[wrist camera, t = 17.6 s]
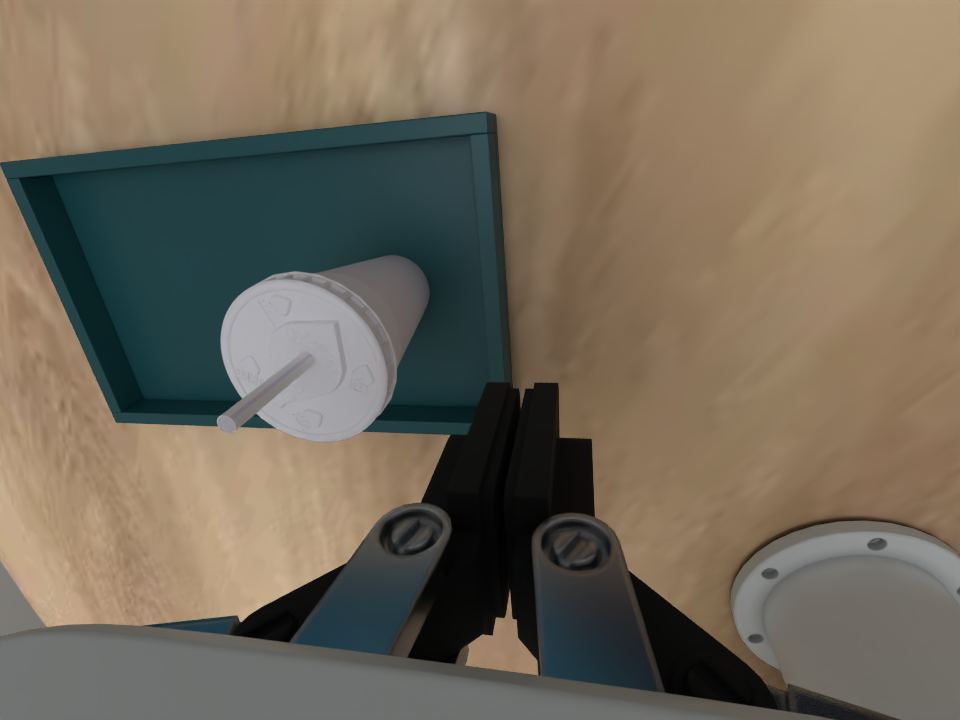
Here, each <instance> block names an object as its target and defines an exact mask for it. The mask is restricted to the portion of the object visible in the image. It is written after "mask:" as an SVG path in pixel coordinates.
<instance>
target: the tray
mask: <svg viewBox="0 0 960 720" xmlns="http://www.w3.org/2000/svg"><path fill="white" fill-rule="evenodd" d="M0 166H1V168H2V170H3V173H4V175H5V177H6V179H7V182H8V184H9V186H10V188H11V191H12V193H13V195H14V197H15V200H16V202H17V204H18V206H19V208H20V211H21V213H22V215H23V217H24V220H25V222H26V224H27V226H28V228H29V231H30V233H31V235H32V237H33V240H34V242H35V244H36V246H37V248H38V251H39V253H40V255H41V257H42V260H43V262H44V264H45V266H46V268H47V271H48V273H49V275H50V277H51V280H52V282H53V284H54V286H55V288H56V291H57V293H58V295H59V297H60V300H61V302H62V304H63V306H64V308H65V311H66V313H67V315H68V317H69V319H70V322H71V324H72V326H73V328H74V331H75V333H76V335H77V337H78V339H79V342H80V344H81V346H82V348H83V351H84V353H85V355H86V357H87V359H88V362H89V364H90V366H91V368H92V371H93V373H94V375H95V377H96V379H97V382H98V384H99V386H100V388H101V391H102V393H103V395H104V397H105V399H106V402H107V404H108V406H109V408H110V411H111V412H112V415H113V417H114V419H115V421H116V423H141V424H168V425H196V426H218V424H217V419H218V417H219V416H221V415H222V414H223V413H225V412H226V411H227V410H228V409H230V408H231V407H232V406H234V405H235V404H236V403H238V402H239V401H240V400H241V399H242V398H241V396H240V395H239V394H238V392H237V390H236V389H235V387H234V385H233V384H232V382H231V380H230V378H229V376H228V373H227V371H226V368H225V365H224V361H223V357H222V352H221V329H222V324H223V321H224V318H225V315H226V313H227V311H228V309H229V307H230V306H231V304H232V303H233V301H234V300H235V299H236V298H237V297H238V296H239V295H240V294H241V293H243V292H244V291H245V290H247V289H249V288H250V287H252V286H254V285H255V284H257V283H259V282H261V281H262V280H264V279H266V278H268V277H270V276H272V275H274V274H281V273H287V272H293V271H298V272H306V273H319V272H323V271H327V270H331V269H335V268H339V267H343V266H347V265H351V264H355V263H359V262H363V261H367V260H371V259H375V258H379V257H383V256H387V255H397V256H402V257H405V258H407V259H409V260H411V261H412V262H414V263H415V264H416V265H417V266H418V267H419V268H420V269H421V270H422V272H423V273H424V275H425V276H426V279H427V281H428V284H429V289H430V297H429V302H428V305H427V307H426V309H425V311H424V314H423V316H422V318H421V320H420V322H419V324H418V326H417V328H416V330H415V332H414V334H413V336H412V338H411V340H410V342H409V344H408V346H407V348H406V350H405V352H404V354H403V357H402V359H401V361H400V363H399V365H398V368H397V381H396V385H395V388H394V391H393V395H392V398H391V400H390V401H389V403H388V404H387V406H386V407H385V409H384V410H383V411H382V413H381V414H380V415H379V416H377V417H376V419H375V420H374V421H373V422H372V423H371V424H370V425H369V426H368V427H367V428H366V429H365V430H363V431H362V432H389V433H416V434H444V435H452V434H461V435H467V433H468V431H469V428H470V425H471V423H472V420H473V417H474V415H475V412H476V409H477V407H478V404H479V401H480V399H481V396H482V393H483V391H484V388H485V385H486V383H487V382H510V383H511V388H513V383H512V367H511V350H510V334H509V318H508V302H507V285H506V269H505V253H504V237H503V221H502V204H501V188H500V172H499V156H498V139H497V123H496V114H493V113H489V112H477V113H467V114H458V115H448V116H439V117H429V118H420V119H410V120H401V121H391V122H382V123H372V124H363V125H353V126H344V127H334V128H325V129H315V130H305V131H296V132H286V133H277V134H267V135H258V136H248V137H239V138H229V139H220V140H210V141H201V142H191V143H182V144H172V145H163V146H153V147H144V148H134V149H125V150H115V151H105V152H96V153H86V154H77V155H67V156H58V157H48V158H39V159H29V160H20V161H10V162H1V163H0ZM241 427H251V428H275V427H273V426H272V425H270V424H269V423H267V422H266V421H265V420H263V419H262V418H261V417H260V416H258V415H257V414H255V415H254V416H252V417H251V418H250V419H249V420H248V421H247V422H245V423H244V424H243V425H242V426H241Z"/></svg>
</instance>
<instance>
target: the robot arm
mask: <svg viewBox="0 0 960 720" xmlns="http://www.w3.org/2000/svg"><path fill="white" fill-rule="evenodd" d="M509 591H510V593H511V605H512V617H513V619H517V628H518V638H519V639H520V640H521V641H522V643H523V644H524V645H525V646H526V647H527V649H528V650H529V651H530V652H531V653H532V655H533V656H534V657H535V658H536V659H537V663H538V675H531V674H524V673H516V672H509V671H501V670H494V669H486V668H479V667H471V666H465V665H466V662H467V657H468V652H469V648H468V644H469V643H471V642H472V641H474V640H475V639H476V638H478V637H479V636H481V635H482V634H485V635H493V630H494V624H495V619H496V617H499V618H505V615H506V610H507V604H508V597H509ZM730 607H731V611H732V615H733V619H734V622H735V625H736V628H737V630H738V632H739V635H740V637H741V639H742V640H743V641H744V643H745V644H746V645H747V647H748V648H749V649H750V650H751V651H752V652H753V653H754V654H755V655H757V656H758V657H759V658H760V659H761V660H763V661H764V662H766V663H768V664H769V665H771V666H772V667H774V668H776V669H778V670H780V671H781V673H782V676H783V679H784V681H785V684H786V687H787V688H786V691H784V690H781V689H778V688H775V687H772V686H769V685H766V684H765V683H764V681H763V680H762V678H760V677H759V676H758V675H757V674H756V673H755V672H754V671H753V670H752V669H751V668H750V667H749V666H748V665H747V664H746V663H745V662H743V661H742V660H741V659H740V658H738V657H737V656H736V655H735V654H733V653H732V652H731V651H730V650H728V649H727V648H726V647H724V646H723V645H722V644H721V643H719V642H718V641H717V640H716V639H714V638H713V637H712V636H711V635H709V634H708V633H707V632H706V631H704V630H703V629H702V628H700V627H699V626H698V625H697V624H695V623H694V622H693V621H692V620H690V619H689V618H688V617H687V616H685V615H684V614H683V613H681V612H680V611H679V610H678V609H676V608H675V607H674V606H673V605H671V604H670V603H669V602H668V601H666V600H665V599H664V598H663V597H661V596H660V595H659V594H657V593H656V592H655V591H654V590H652V589H651V588H650V587H649V586H647V585H646V584H645V583H644V582H642V581H641V580H640V579H639V578H637V577H636V576H635V575H633V574H632V573H631V572H630V571H628V568H627V564H626V561H625V558H624V554H623V551H622V548H621V544H620V541H619V539H618V537H617V536H616V534H615V532H614V531H613V530H612V529H611V528H610V527H609V526H608V525H607V524H606V523H604V522H603V521H601V520H599V519H597V518H596V517H595V510H594V485H593V460H592V439H580V438H560V436H559V386H558V383H535V384H534V389H525V393H524V398H523V403H522V408H521V406H520V391H519V388H511V383H510V382H487V383H486V385H485V388H484V391H483V393H482V396H481V399H480V401H479V404H478V407H477V409H476V412H475V415H474V417H473V420H472V423H471V425H470V428H469V431H468V433H467V435H461V434H452V435H450V437H449V439H448V441H447V443H446V445H445V448H444V450H443V452H442V455H441V457H440V459H439V462H438V464H437V466H436V469H435V471H434V473H433V476H432V478H431V480H430V483H429V485H428V487H427V490H426V492H425V494H424V497H423V499H422V501H421V503H413V504H406V505H403V506H400V507H398V508H395V509H393V510H391V511H390V512H388V513H387V514H385V515H383V517H382V518H381V519H380V520H379V521H378V522H377V523H376V524H375V525H374V527H373V528H372V529H371V531H370V532H369V533H368V535H367V536H366V538H365V539H364V540H363V542H362V543H361V544H360V546H359V547H358V549H357V550H356V551H355V553H354V554H353V555H352V557H351V558H350V560H349V561H348V562H347V563H346V564H344V565H342V566H340V567H338V568H336V569H334V570H332V571H330V572H328V573H326V574H325V575H323V576H321V577H319V578H317V579H315V580H313V581H311V582H309V583H307V584H305V585H303V586H301V587H300V588H298V589H296V590H294V591H292V592H290V593H288V594H286V595H284V596H282V597H280V598H278V599H277V600H275V601H273V602H271V603H269V604H267V605H265V606H263V607H261V608H260V609H258V610H257V611H255V612H254V613H252V614H251V615H249V616H248V617H247V618H246V619H245V620H244V621H243V622H240V621H239V618H238V616H237V615H236V616H227V617H218V618H209V619H200V620H190V621H181V622H172V623H163V624H154V625H144V626H134V625H115V624H77V625H62V626H53V627H45V628H37V629H29V630H25V631H20V632H16V633H12V634H8V635H3V636H0V720H960V556H959V554H958V553H957V552H956V551H955V550H954V549H953V548H951V547H950V546H948V545H946V544H945V543H943V542H942V541H940V540H939V539H937V538H936V537H933V536H931V535H928V534H926V533H924V532H921V531H919V530H916V529H914V528H909V527H905V526H901V525H897V524H893V523H886V522H875V521H840V522H833V523H827V524H821V525H815V526H812V527H808V528H805V529H802V530H798V531H795V532H792V533H790V534H788V535H786V536H784V537H781V538H779V539H777V540H775V541H773V542H771V543H770V544H769V545H767V546H766V547H764V548H763V549H761V550H760V551H758V552H757V553H756V554H755V555H754V556H753V557H752V558H751V559H750V560H749V561H748V562H746V563H745V564H744V566H743V567H742V569H741V570H740V572H739V573H738V575H737V577H736V578H735V581H734V584H733V587H732V590H731V598H730Z"/></svg>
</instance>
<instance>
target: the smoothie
mask: <svg viewBox="0 0 960 720" xmlns="http://www.w3.org/2000/svg"><path fill="white" fill-rule="evenodd" d="M429 297H430V289H429V284H428V281H427V279H426V276H425V275H424V273H423V272H422V270H421V269H420V268H419V267H418V266H417V265H416V264H415V263H414V262H412V261H411V260H409V259H407V258H405V257H402V256H397V255H387V256H383V257H379V258H375V259H371V260H367V261H363V262H359V263H355V264H351V265H347V266H343V267H339V268H335V269H331V270H327V271H323V272H319V273H306V272H298V271H293V272H287V273H281V274H274V275H272V276H270V277H268V278H266V279H264V280H262V281H261V282H259V283H257V284H255V285H254V286H252V287H250V288H249V289H247V290H245V291H244V292H243V293H241V294H240V295H239V296H238V297H237V298H236V299H235V300H234V301H233V303H232V304H231V306H230V307H229V309H228V311H227V313H226V315H225V318H224V321H223V324H222V329H221V352H222V357H223V361H224V365H225V368H226V371H227V373H228V376H229V378H230V380H231V382H232V384H233V385H234V387H235V389H236V390H237V392H238V394H239V395H240V396H241V398H242V399H241V400H240V401H239V402H238V403H236V404H235V405H234V406H232V407H231V408H230V409H228V410H227V411H226V412H225V413H223V414H222V415H221V416H219V417H218V419H217V424H218V426H219V428H220V429H221V430H222V431H224V432H226V433H233V432H235V431H236V430H237V429H238V428H239V427H241V426H242V425H243V424H244V423H245V422H247V421H248V420H249V419H250V418H251V417H252V416H254V415H255V414H257V415H258V416H260V417H261V418H262V419H263V420H265V421H266V422H267V423H269V424H270V425H272V426H273V427H275V428H277V429H279V430H281V431H283V432H285V433H287V434H289V435H292V436H294V437H297V438H301V439H304V440H309V441H317V442H333V441H340V440H344V439H347V438H350V437H352V436H355V435H357V434H358V433H360V432H362V431H363V430H365V429H366V428H367V427H368V426H369V425H370V424H371V423H372V422H373V421H374V420H375V419H376V417H377V416H379V415H380V414H381V413H382V411H383V410H384V409H385V407H386V406H387V404H388V403H389V401H390V400H391V398H392V395H393V391H394V388H395V385H396V381H397V368H398V365H399V363H400V361H401V359H402V357H403V354H404V352H405V350H406V348H407V346H408V344H409V342H410V340H411V338H412V336H413V334H414V332H415V330H416V328H417V326H418V324H419V322H420V320H421V318H422V316H423V314H424V311H425V309H426V307H427V305H428V302H429Z"/></svg>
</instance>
